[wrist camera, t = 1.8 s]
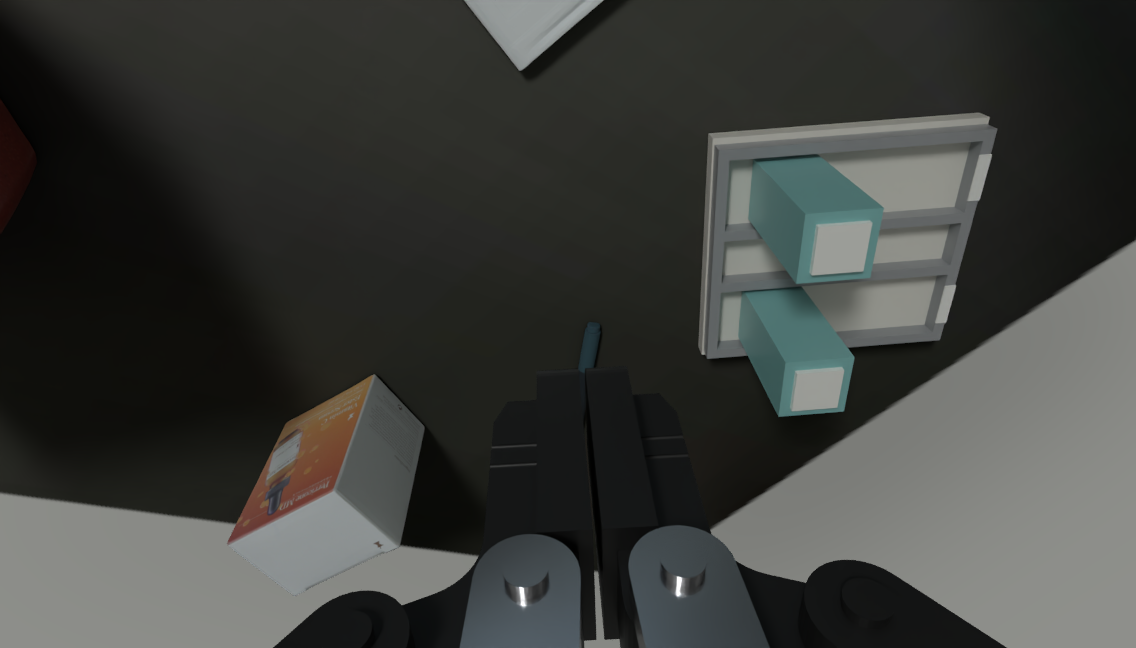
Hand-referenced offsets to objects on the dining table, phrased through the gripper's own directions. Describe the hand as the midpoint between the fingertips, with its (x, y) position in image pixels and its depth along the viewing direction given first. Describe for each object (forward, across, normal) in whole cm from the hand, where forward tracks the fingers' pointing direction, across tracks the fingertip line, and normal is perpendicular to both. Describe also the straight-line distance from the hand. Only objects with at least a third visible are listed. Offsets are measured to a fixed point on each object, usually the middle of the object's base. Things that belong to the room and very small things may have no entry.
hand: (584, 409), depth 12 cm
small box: (+27, -15, -22) cm, 38 cm away
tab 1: (+26, +12, -6) cm, 29 cm away
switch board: (+27, +16, -10) cm, 33 cm away
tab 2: (+26, +13, -14) cm, 32 cm away
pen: (+28, 0, -22) cm, 35 cm away
